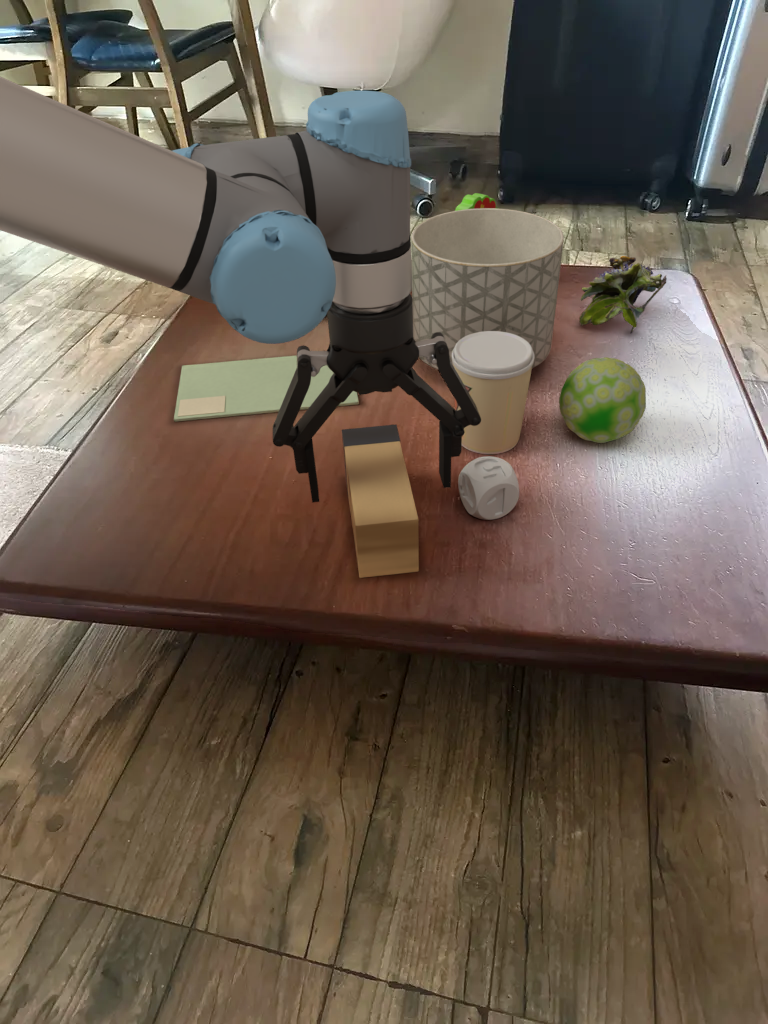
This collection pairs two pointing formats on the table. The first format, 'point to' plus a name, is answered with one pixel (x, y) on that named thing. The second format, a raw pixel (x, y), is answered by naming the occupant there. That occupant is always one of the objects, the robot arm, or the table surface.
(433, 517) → the table surface
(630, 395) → the decorative ball
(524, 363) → the coffee cup
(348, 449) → the beech block
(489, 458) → the die
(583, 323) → the passion flower
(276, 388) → the envelope
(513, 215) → the planter
